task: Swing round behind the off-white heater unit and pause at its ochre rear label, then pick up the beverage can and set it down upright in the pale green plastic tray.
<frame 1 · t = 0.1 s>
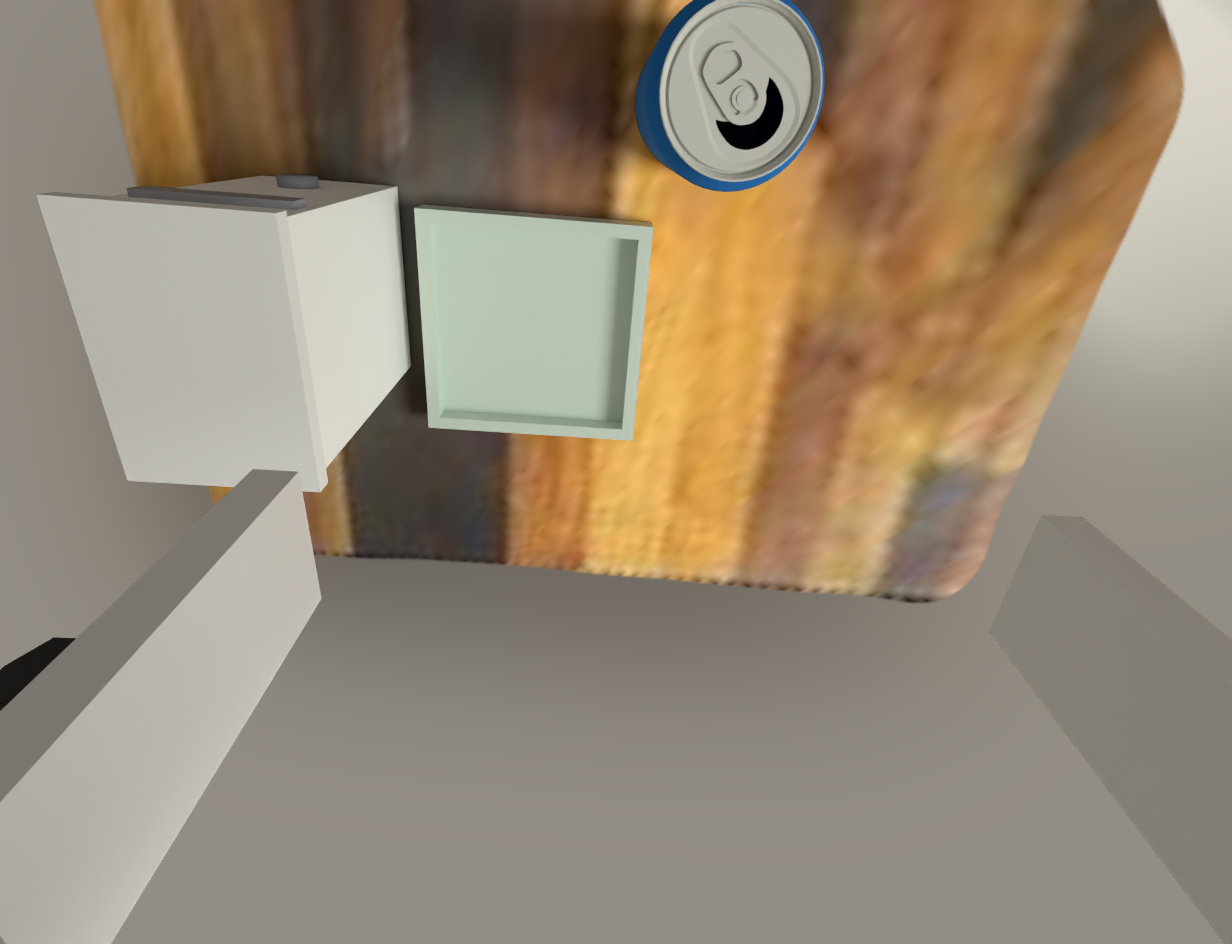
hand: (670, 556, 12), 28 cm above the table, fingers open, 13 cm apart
heater unit: (342, 277, 37), on the table
tray: (536, 325, 38), on the table
beverage can: (697, 104, 33), on the table
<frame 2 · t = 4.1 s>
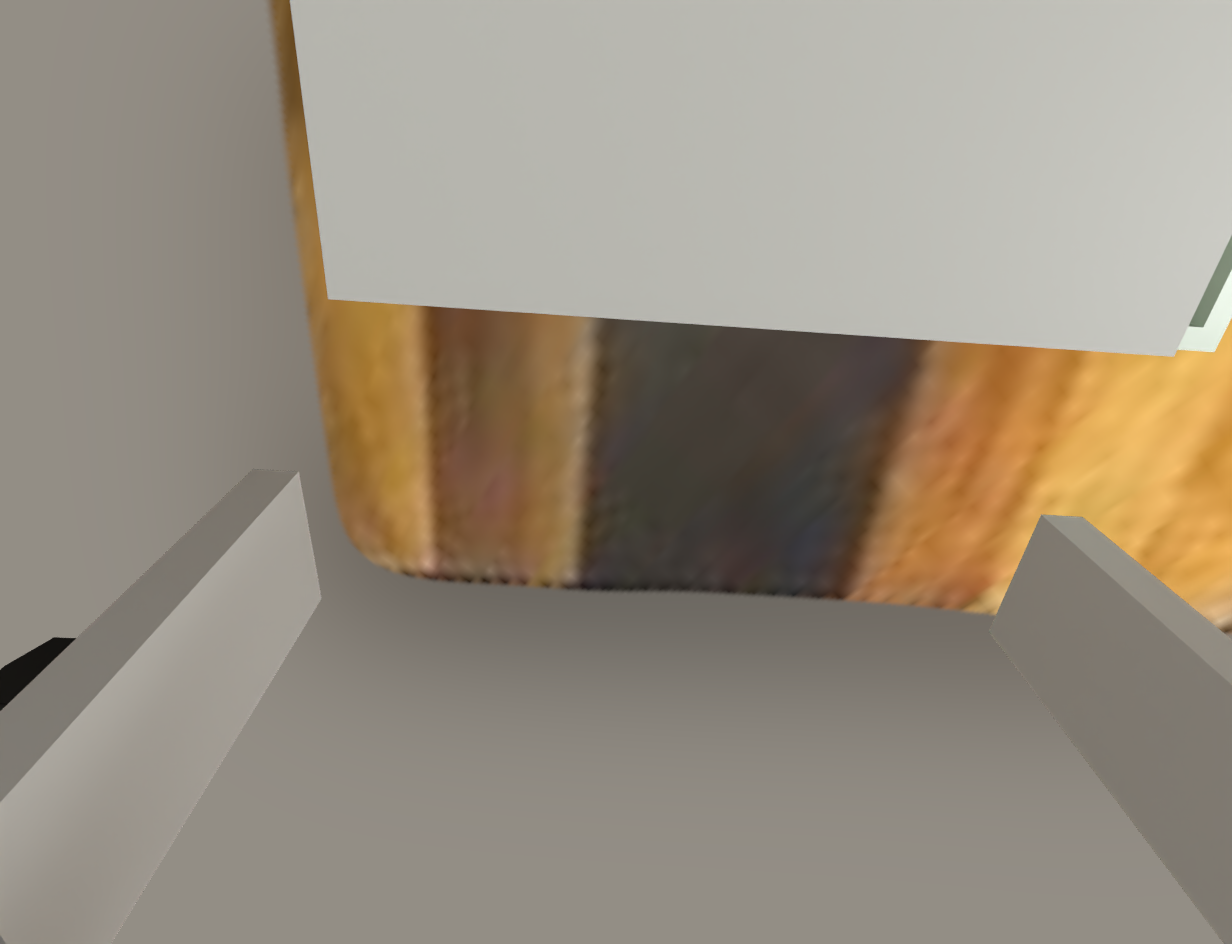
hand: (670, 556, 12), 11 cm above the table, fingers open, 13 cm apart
tray: (1056, 102, 18), on the table
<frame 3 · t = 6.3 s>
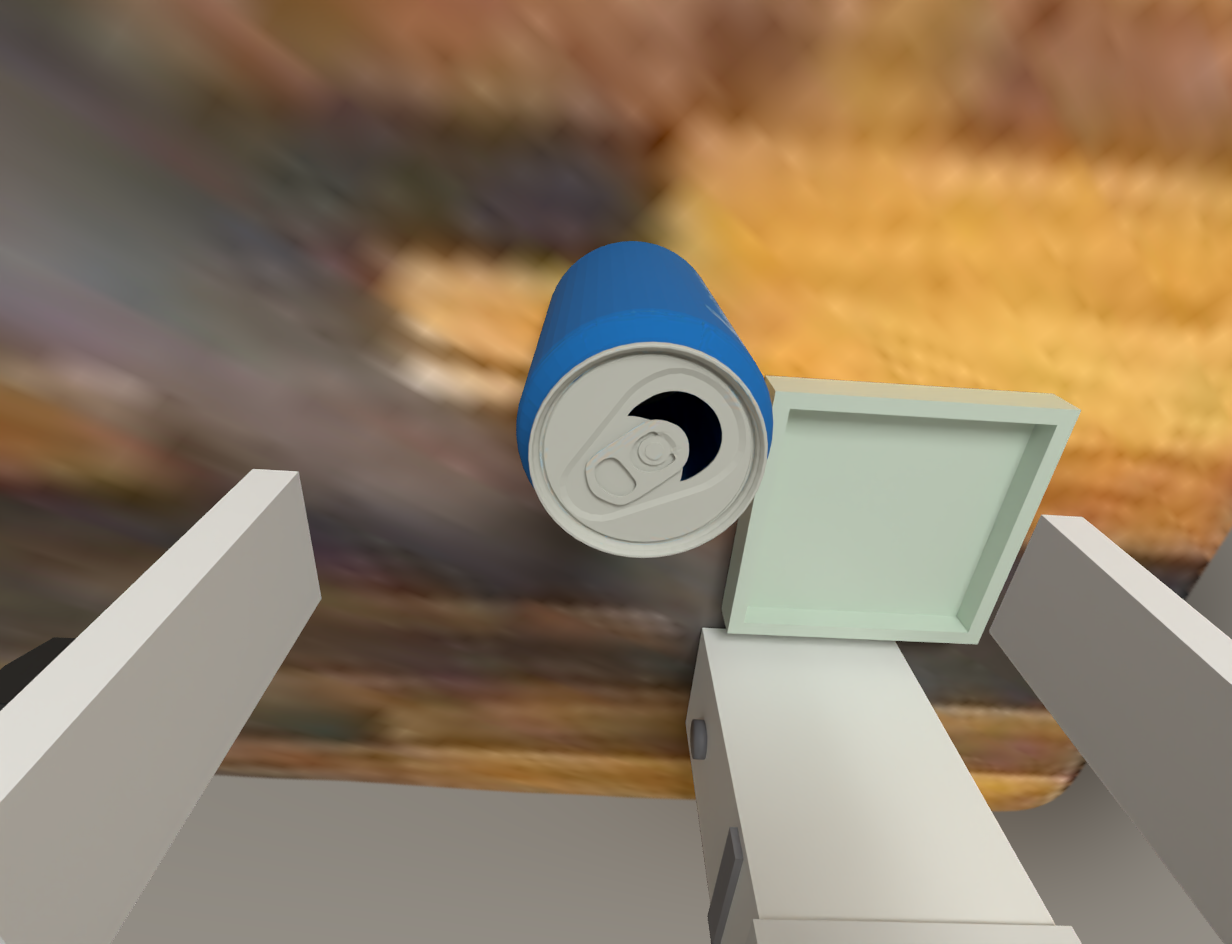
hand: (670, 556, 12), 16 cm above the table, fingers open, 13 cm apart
heater unit: (784, 681, 35), on the table
tray: (872, 510, 30), on the table
beverage can: (629, 321, 26), on the table
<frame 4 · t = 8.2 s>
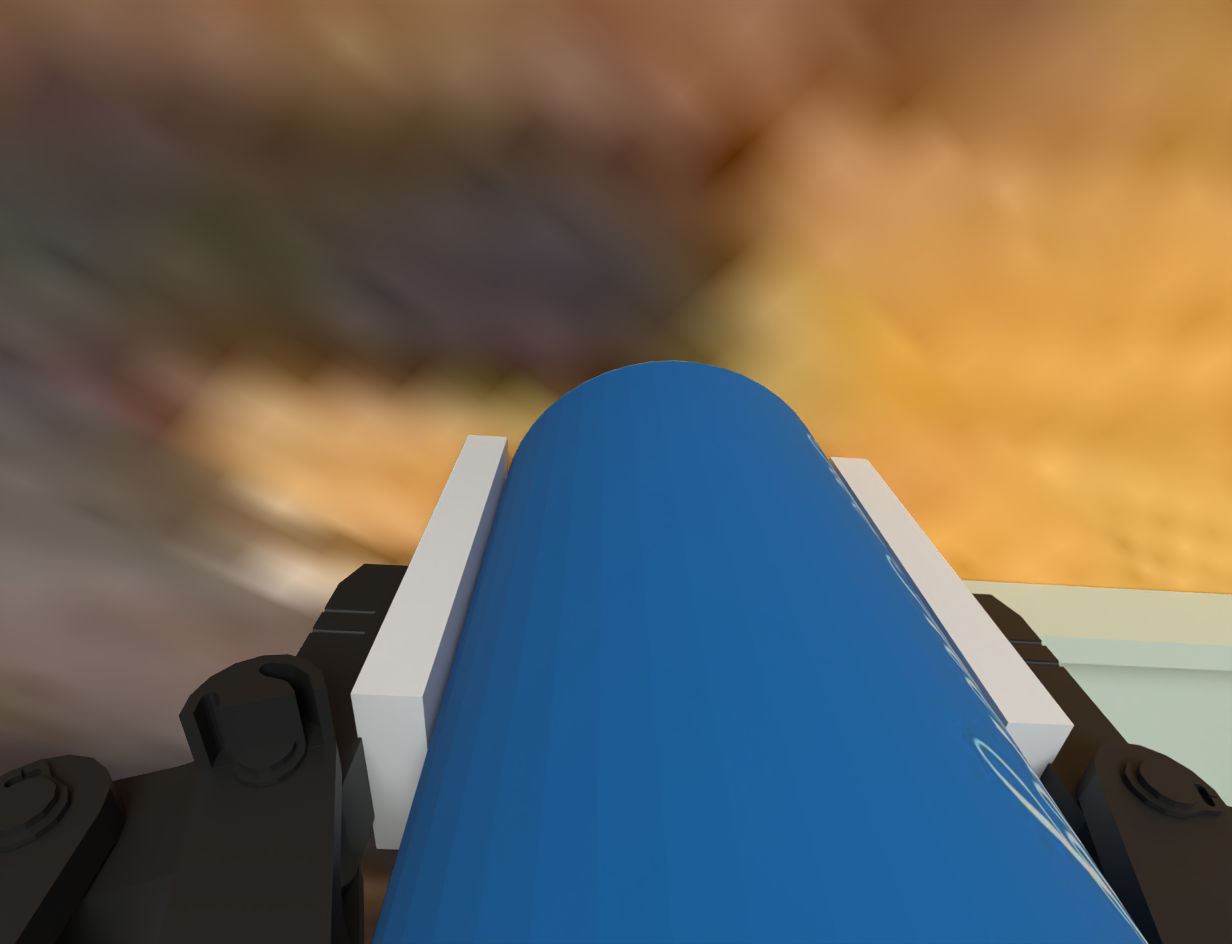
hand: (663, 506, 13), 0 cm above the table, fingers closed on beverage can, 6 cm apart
tray: (1058, 767, 18), on the table
beverage can: (661, 490, 14), on the table, touching gripper
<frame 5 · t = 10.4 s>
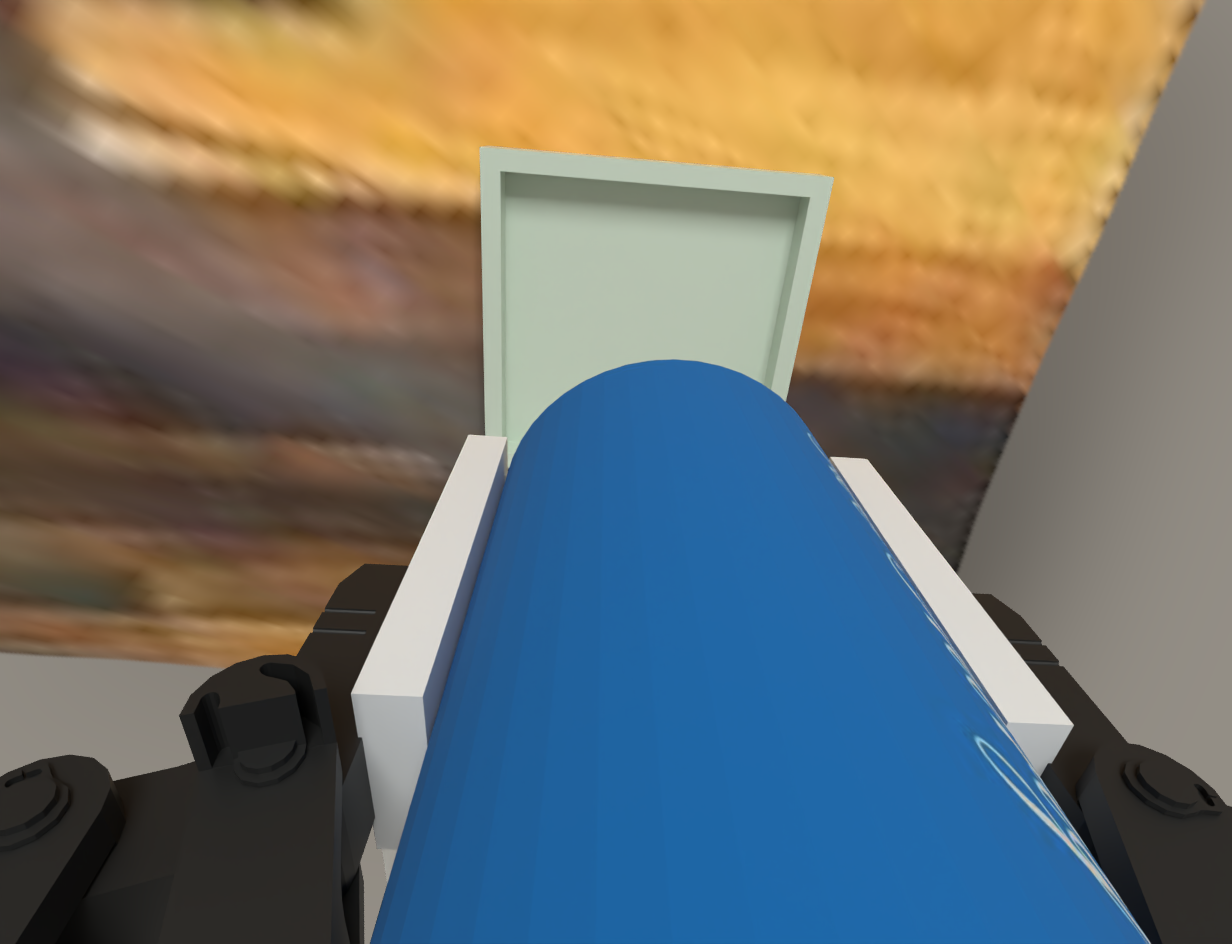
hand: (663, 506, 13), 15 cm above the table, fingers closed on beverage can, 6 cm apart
tray: (639, 324, 27), on the table
beverage can: (661, 489, 14), point 15 cm above the table, touching gripper
when the fingers open (3 cm above the table, at t = 13.0 s): beverage can drops 2 cm, resting on tray.
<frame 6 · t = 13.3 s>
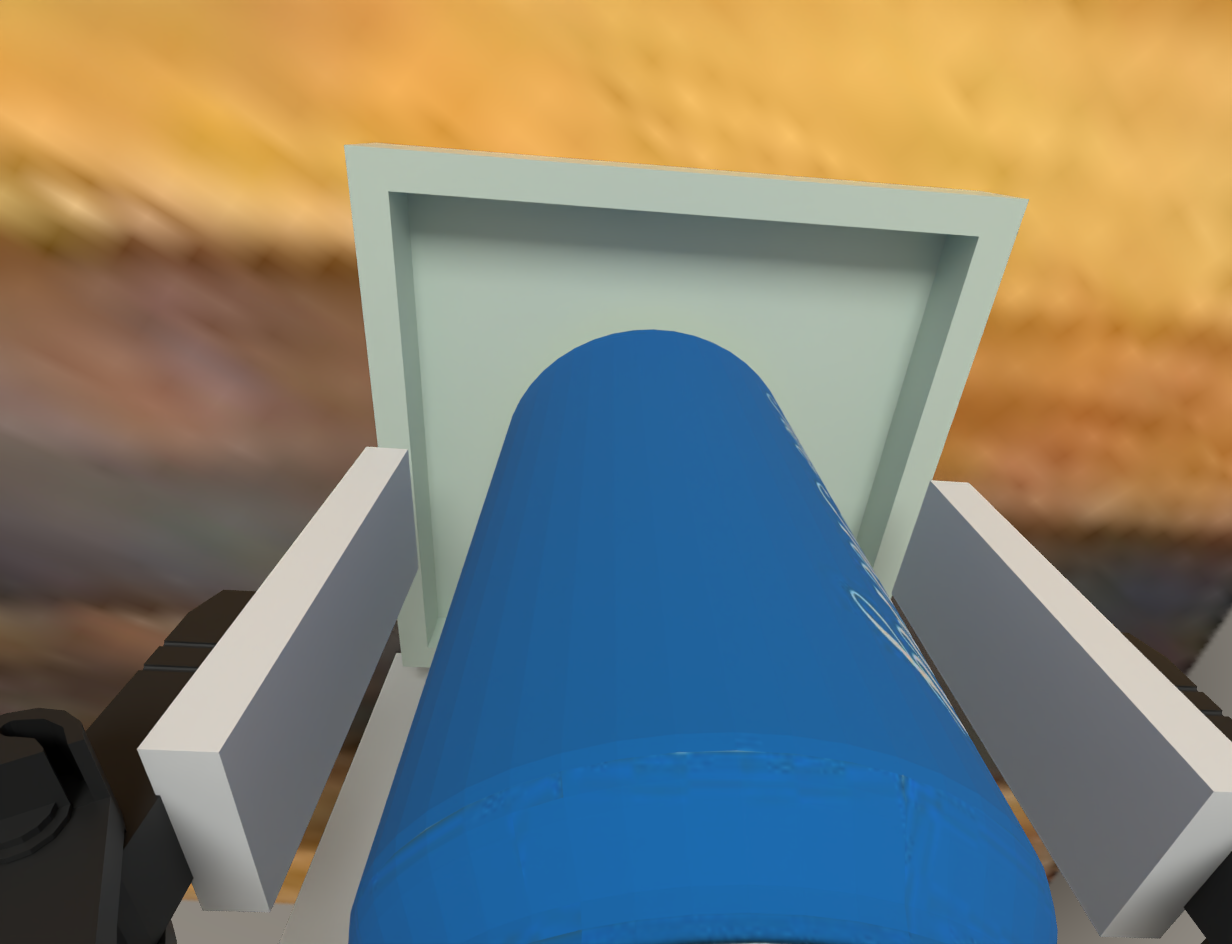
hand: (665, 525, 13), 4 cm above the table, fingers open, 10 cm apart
heater unit: (559, 739, 21), on the table
tray: (653, 441, 16), on the table
beverage can: (644, 447, 16), resting on tray
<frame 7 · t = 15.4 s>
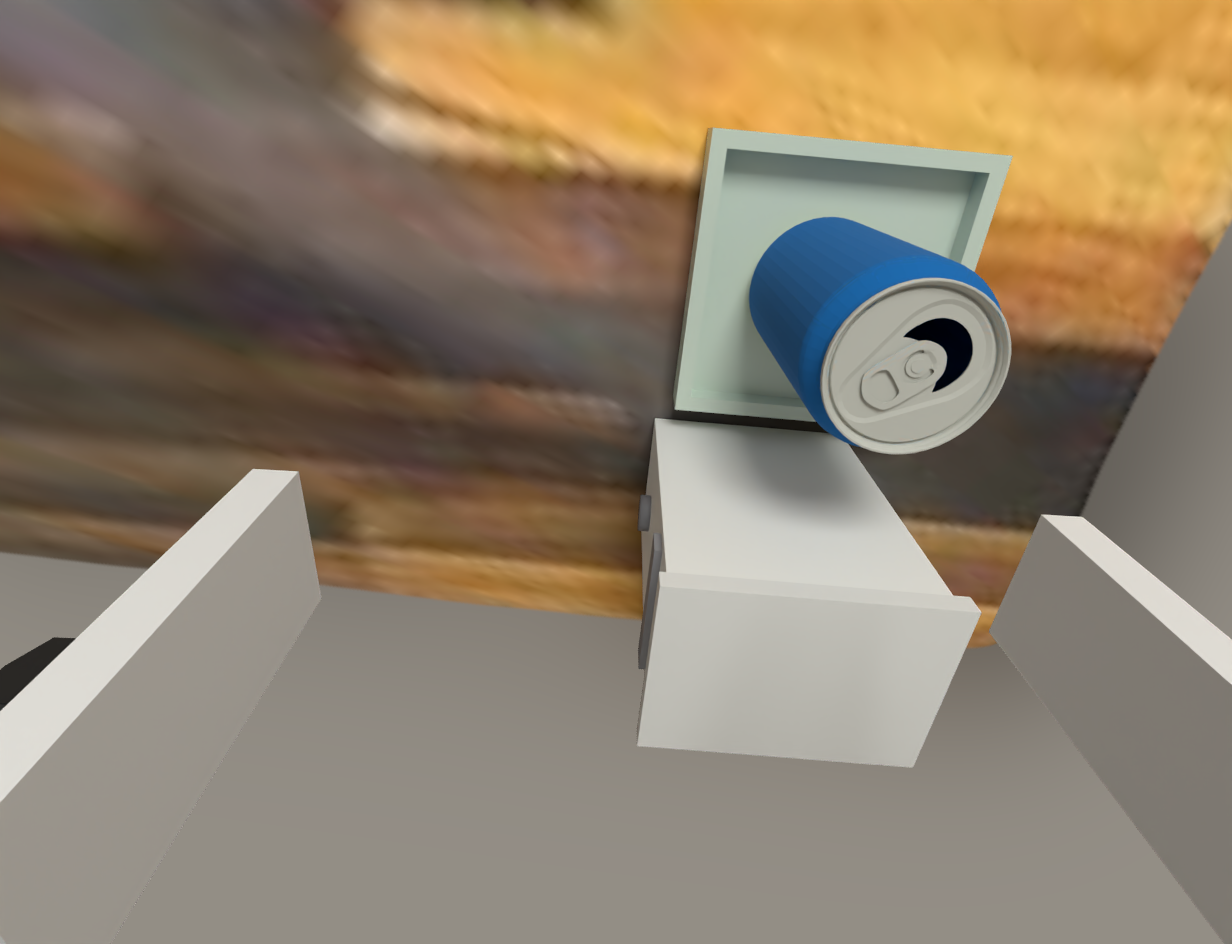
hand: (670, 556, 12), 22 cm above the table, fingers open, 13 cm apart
heater unit: (737, 483, 36), on the table
tray: (817, 286, 31), on the table
beverage can: (814, 287, 30), resting on tray
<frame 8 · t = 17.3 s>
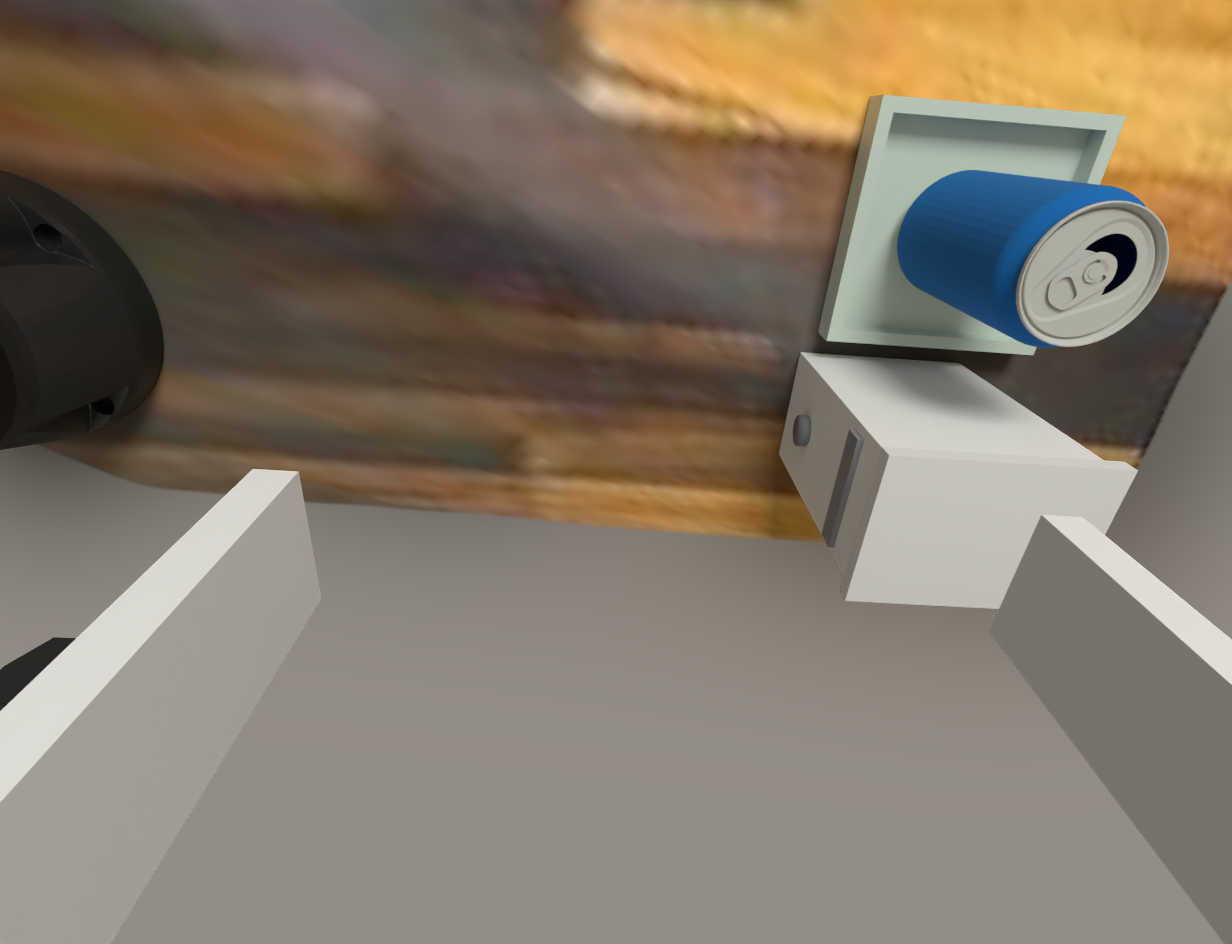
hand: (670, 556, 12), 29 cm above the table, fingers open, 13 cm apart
heater unit: (865, 409, 42), on the table
tray: (949, 232, 36), on the table
beverage can: (948, 232, 36), resting on tray
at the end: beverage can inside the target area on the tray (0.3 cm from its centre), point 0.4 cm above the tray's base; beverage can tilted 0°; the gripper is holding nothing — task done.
